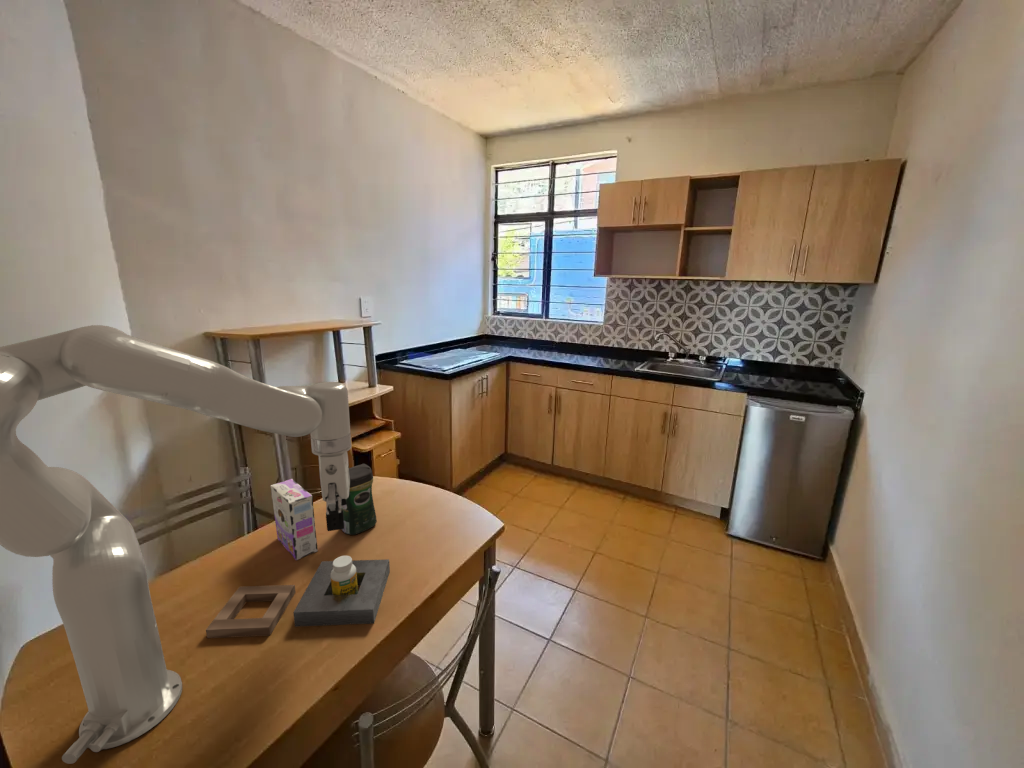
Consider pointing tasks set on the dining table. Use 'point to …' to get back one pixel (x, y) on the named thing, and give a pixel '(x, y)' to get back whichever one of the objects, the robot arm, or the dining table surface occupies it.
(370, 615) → the block
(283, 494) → the candy box
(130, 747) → the dining table surface
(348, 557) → the supplement bottle
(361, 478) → the coffee jar
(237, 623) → the walnut frame
